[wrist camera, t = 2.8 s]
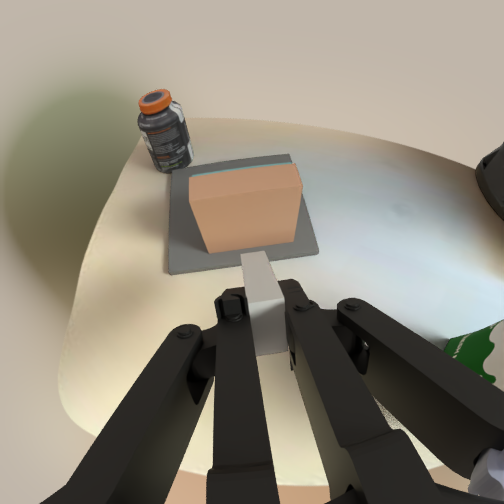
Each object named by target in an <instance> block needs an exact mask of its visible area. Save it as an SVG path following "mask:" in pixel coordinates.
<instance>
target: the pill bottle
mask: <svg viewBox="0 0 504 504" xmlns="http://www.w3.org/2000/svg"><path fill="white" fill-rule="evenodd" d="M139 106H140V110H141V113H140V115H139V117H138V126H139V128H140V131H141V133H142V136H143V138H144V141H145V143H146V145H147V148H148V150H149V153H150V155H151V157H152V160H153V162H154V165H155V167H156V168H157V170H159V171H160V172H163V173H172V170H177V169H182V168H185V167H187V166H188V165H189V164H190V163H191V162H192V160H193V157H194V152H193V148H192V145H191V141H190V137H189V133H188V130H187V126H186V122H185V118H184V115H183V111H182V108H181V106H180V104H178V103H177V102H175V101H172V98H171V96H170V92H169V91H168V90H165V89H160V90H155V91H152V92H149V93H147V94H146V95H144V96H143V97H142V98H141V99H140V100H139Z"/></svg>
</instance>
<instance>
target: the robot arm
mask: <svg viewBox="0 0 504 504" xmlns="http://www.w3.org/2000/svg"><path fill="white" fill-rule="evenodd" d="M476 178H477V181H478V184H479V186H480V188H481V190H482V192H483V194H484V196H485V198H486V199H487V201H488V202H489V204H490V205H491V206H492V208H493V209H494V210H495V211H496V213H497V214H498V215H499V216H500V217H501V218H502V219H503V220H504V142H503V144H502V145H501V146H500V147H498V148H497V149H495V150H494V151H492V152H491V153H490V154H488V155H487V156H485V157H484V158H483V159H482V160H481V161H480V163H479V164H478V166H477V168H476ZM241 262H242V270H243V278H244V285H245V287H238V288H231V289H226V290H225V291H224V292H223V293H222V295H221V296H219V297H218V298H216V299H215V301H214V304H215V309H216V314H217V318H218V324H217V325H215V326H214V327H212V328H209V329H206V330H203V331H201V329H200V327H199V326H197V325H194V324H184V325H180V326H178V327H176V328H174V329H173V330H172V331H171V332H170V333H169V335H168V336H167V337H166V339H165V340H164V342H163V343H162V344H161V346H160V347H159V349H158V350H157V351H156V353H155V354H154V356H153V357H152V358H151V360H150V361H149V363H148V364H147V365H146V367H145V368H144V370H143V371H142V373H141V374H140V375H139V377H138V378H137V380H136V381H135V383H134V384H133V386H132V387H131V388H130V390H129V391H128V393H127V394H126V396H125V397H124V398H123V400H122V401H121V403H120V404H119V406H118V407H117V409H116V410H115V412H114V413H113V415H112V416H111V417H110V419H109V420H108V422H107V423H106V425H105V426H104V428H103V429H102V431H101V432H100V434H99V435H98V437H97V438H96V440H95V441H94V443H93V444H92V446H91V447H90V449H89V450H88V452H87V453H86V455H85V456H84V458H83V459H82V461H81V463H80V464H79V466H78V467H77V469H76V470H75V472H74V473H73V475H72V476H71V478H70V479H69V481H68V482H67V484H66V485H65V486H63V487H62V488H61V489H59V490H58V491H57V492H55V493H54V494H53V495H51V496H50V497H48V498H47V499H46V500H44V501H43V502H41V503H40V504H164V503H165V501H166V498H167V496H168V493H169V491H170V488H171V486H172V484H173V481H174V479H175V476H176V474H177V471H178V469H179V467H180V464H181V462H182V459H183V457H184V454H185V452H186V449H187V447H188V445H189V442H190V440H191V437H192V435H193V432H194V430H195V427H196V425H197V422H198V420H199V417H200V415H201V412H202V410H203V407H204V405H205V402H206V400H207V397H208V394H209V392H210V389H211V387H212V384H213V382H214V376H215V391H214V427H213V466H212V468H211V469H209V470H208V473H207V482H206V486H207V487H206V504H280V501H279V495H278V489H277V483H276V477H275V471H274V465H273V459H272V453H271V447H270V441H269V435H268V429H267V423H266V417H265V411H264V405H263V398H262V392H261V386H260V379H259V373H258V366H257V360H256V356H261V355H268V354H274V353H280V352H286V351H288V345H289V348H290V364H291V370H293V369H294V372H295V375H296V378H297V382H298V385H299V388H300V391H301V395H302V398H303V401H304V404H305V408H306V411H307V414H308V417H309V421H310V424H311V427H312V430H313V434H314V437H315V440H316V444H317V447H318V450H319V453H320V457H321V460H322V463H323V467H324V470H325V473H326V476H327V480H328V483H329V488H330V499H331V501H329V502H327V503H325V504H504V391H502V390H501V389H499V388H498V387H496V386H495V385H493V384H492V383H490V382H489V381H487V380H486V379H484V378H483V377H481V376H480V375H479V374H477V373H476V372H474V371H473V370H471V369H470V368H468V367H466V366H465V365H463V364H462V363H460V362H459V361H457V360H456V359H454V358H453V357H451V356H450V355H448V354H447V353H445V352H444V351H442V350H441V349H439V348H438V347H436V346H435V345H433V344H431V343H430V342H428V341H427V340H425V339H424V338H422V337H421V336H419V335H417V334H416V333H414V332H413V331H411V330H410V329H408V328H407V327H405V326H403V325H402V324H400V323H399V322H397V321H396V320H394V319H392V318H391V317H389V316H388V315H386V314H384V313H383V312H381V311H380V310H378V309H377V308H375V307H373V306H372V305H370V304H369V303H367V302H365V301H363V300H361V299H357V298H348V299H344V300H342V301H340V302H339V303H338V304H337V309H335V310H326V309H320V307H319V306H318V304H317V303H316V302H314V301H312V300H309V299H308V297H307V296H306V294H305V292H304V291H303V289H302V287H301V286H300V284H299V282H297V281H296V280H294V279H288V280H281V281H277V279H276V277H275V274H274V272H273V270H272V267H271V265H270V263H269V260H268V258H267V255H266V253H265V251H259V252H252V253H245V254H241ZM365 342H366V343H367V345H368V347H367V346H366V345H365V344H364V343H365ZM371 394H372V395H373V396H374V397H375V398H376V399H377V400H378V401H379V402H380V403H381V404H382V405H383V406H384V407H385V408H386V409H387V410H388V411H389V412H390V413H391V414H392V415H393V416H394V417H395V418H396V419H397V420H398V421H399V422H400V423H401V424H402V425H403V426H404V427H406V428H407V429H408V430H409V431H410V432H411V433H412V434H413V435H414V436H415V437H416V438H417V439H418V440H419V441H420V442H421V443H422V444H423V445H424V446H425V447H426V448H428V449H429V450H430V451H431V452H432V453H433V454H434V455H435V456H436V457H437V458H438V459H439V460H440V461H441V462H442V463H444V464H445V465H446V466H447V467H449V468H450V469H451V470H452V471H454V472H455V473H457V474H459V475H460V476H462V477H464V478H467V479H469V480H471V482H470V484H469V487H468V492H469V493H466V492H463V491H459V490H456V489H452V488H449V487H446V486H443V485H440V484H437V483H434V481H433V479H432V477H431V475H430V474H429V472H428V470H427V468H426V466H425V465H424V463H423V461H422V459H421V457H420V456H419V454H418V452H417V450H416V449H415V447H414V445H413V444H412V442H411V440H410V438H409V437H408V435H407V434H406V433H405V432H404V431H403V430H401V429H395V430H393V429H392V428H391V427H390V426H389V425H388V423H387V421H386V419H385V417H384V416H383V414H382V412H381V410H380V409H379V407H378V405H377V403H376V402H375V400H374V398H373V396H372V395H371ZM478 495H480V496H478Z"/></svg>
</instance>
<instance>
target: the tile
mask: <svg viewBox="0 0 504 504" xmlns="http://www.w3.org/2000/svg"><path fill="white" fill-rule="evenodd" d="M302 188H303V185H302V182H301V179H300V176H299V173H298V170H297V167H296V164H295V163H294V164H292V162H287V163H277V164H268V165H259V166H251V167H243V168H235V169H228V170H222V171H215V172H209V173H203V174H197V175H192V177H189V203H190V205H191V208H192V211H193V213H194V216H195V219H196V221H197V224H198V227H199V229H200V232H201V234H202V237H203V240H204V242H205V245H206V247H207V250H208V252H209V254H211V253H218V252H225V251H232V250H239V249H246V248H253V247H260V246H267V245H274V244H282V243H289V242H293V241H294V236H295V230H296V224H297V218H298V213H299V207H300V201H301V194H302Z"/></svg>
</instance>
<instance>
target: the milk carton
mask: <svg viewBox="0 0 504 504" xmlns="http://www.w3.org/2000/svg"><path fill="white" fill-rule="evenodd" d="M444 352H445V353H447V354H448V355H450V356H451V357H453V358H454V359H456V360H457V361H459V362H460V363H462V364H463V365H465V366H466V367H468V368H470V369H471V370H473V371H474V372H476V373H477V374H479V375H480V376H481V377H483V378H484V379H486V380H487V381H489V382H490V383H492V384H493V385H495V386H496V387H498V388H499V389H501V390H502V391H504V319H503V320H501V321H499V322H497V323H495V324H493V325H490V326H488V327H486V328H484V329H481V330H479V331H476V332H473V333H469V334H466V335H462V336H459V337H455V338H451V339H450V340H449V342H448V344H447V346H446V348H445V350H444Z"/></svg>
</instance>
